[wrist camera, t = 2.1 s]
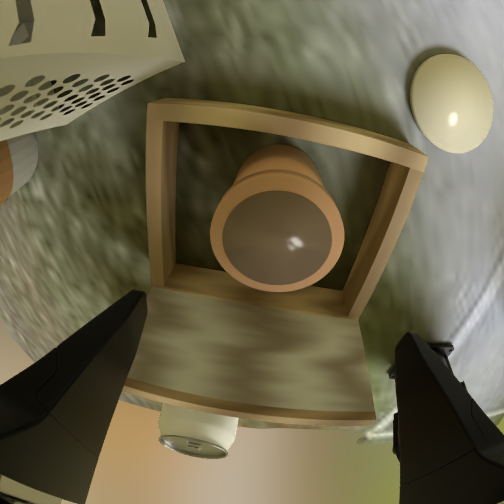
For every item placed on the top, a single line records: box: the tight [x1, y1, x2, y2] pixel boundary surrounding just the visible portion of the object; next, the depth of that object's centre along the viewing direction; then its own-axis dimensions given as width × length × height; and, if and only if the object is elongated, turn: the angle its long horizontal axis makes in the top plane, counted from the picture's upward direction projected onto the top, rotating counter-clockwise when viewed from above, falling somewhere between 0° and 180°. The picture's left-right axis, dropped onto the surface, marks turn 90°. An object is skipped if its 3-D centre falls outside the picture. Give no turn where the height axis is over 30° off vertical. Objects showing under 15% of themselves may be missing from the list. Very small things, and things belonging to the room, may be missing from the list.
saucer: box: [410, 54, 494, 153], centre depth 14 cm, size 7×7×1 cm
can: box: [159, 403, 238, 459], centre depth 24 cm, size 6×6×12 cm
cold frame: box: [122, 98, 429, 426], centre depth 16 cm, size 16×14×12 cm
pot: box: [210, 144, 344, 292], centre depth 16 cm, size 6×6×7 cm
